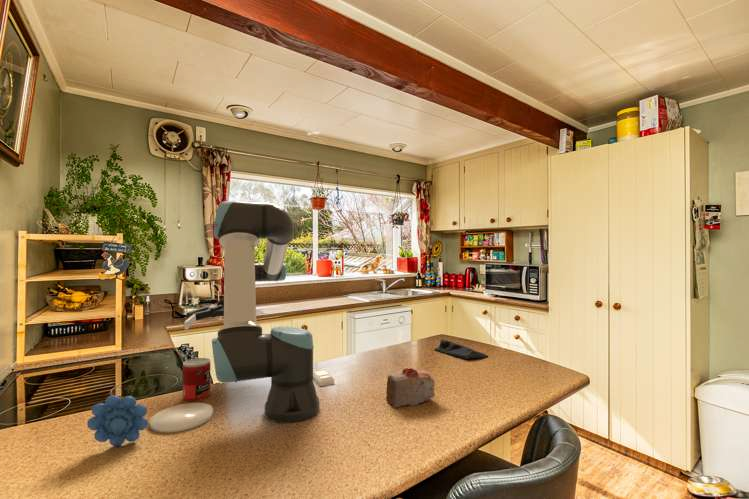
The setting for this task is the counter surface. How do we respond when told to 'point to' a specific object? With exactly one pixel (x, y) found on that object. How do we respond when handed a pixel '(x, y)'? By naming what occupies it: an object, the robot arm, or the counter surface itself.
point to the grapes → (118, 420)
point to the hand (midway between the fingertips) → (206, 327)
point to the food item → (409, 388)
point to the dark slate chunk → (458, 350)
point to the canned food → (196, 379)
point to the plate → (181, 417)
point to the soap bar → (323, 378)
